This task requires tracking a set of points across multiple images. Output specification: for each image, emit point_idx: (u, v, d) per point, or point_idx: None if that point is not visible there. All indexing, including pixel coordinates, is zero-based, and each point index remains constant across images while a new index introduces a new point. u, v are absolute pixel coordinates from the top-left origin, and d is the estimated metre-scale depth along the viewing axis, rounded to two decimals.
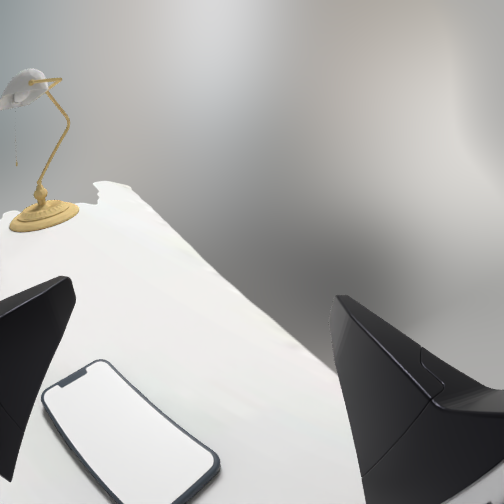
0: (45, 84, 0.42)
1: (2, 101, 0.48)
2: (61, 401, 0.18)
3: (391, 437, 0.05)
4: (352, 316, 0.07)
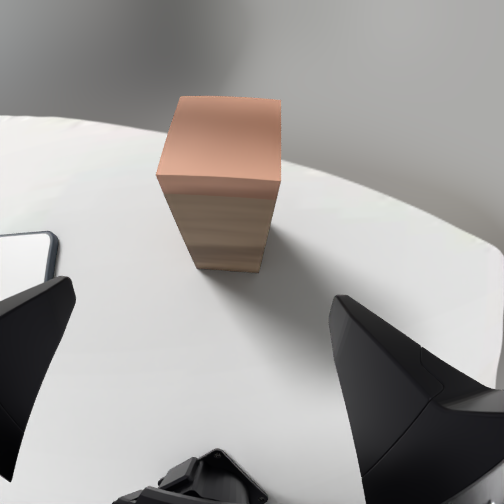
0: None
1: None
2: None
3: (391, 437, 0.05)
4: (352, 316, 0.07)
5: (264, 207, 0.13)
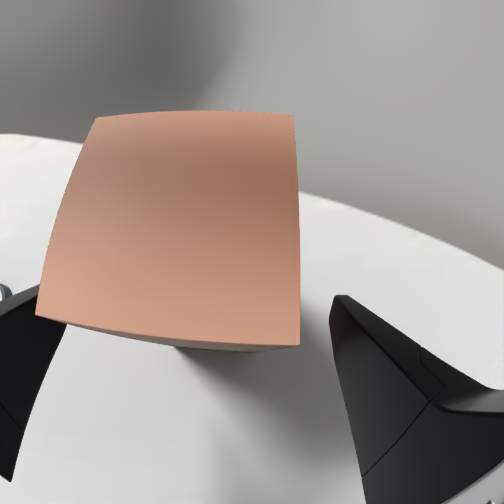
0: None
1: None
2: None
3: (391, 437, 0.05)
4: (352, 316, 0.07)
5: (261, 347, 0.07)
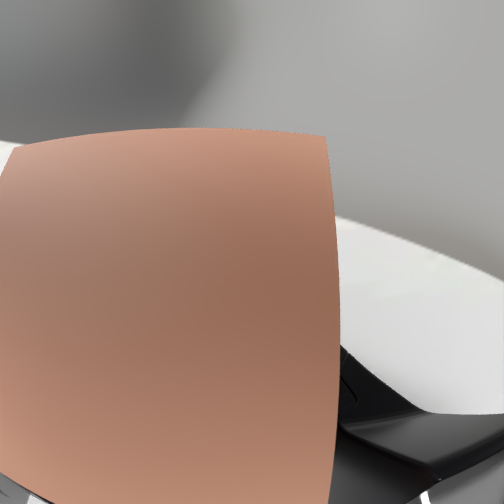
0: None
1: None
2: None
3: None
4: None
5: None
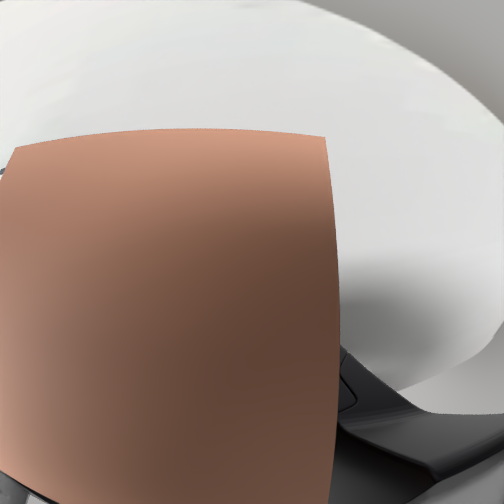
0: None
1: None
2: None
3: None
4: None
5: None
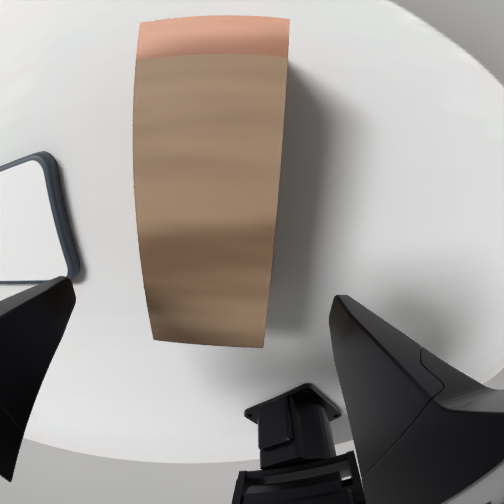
0: None
1: None
2: None
3: (391, 437, 0.05)
4: (352, 316, 0.07)
5: (272, 76, 0.08)
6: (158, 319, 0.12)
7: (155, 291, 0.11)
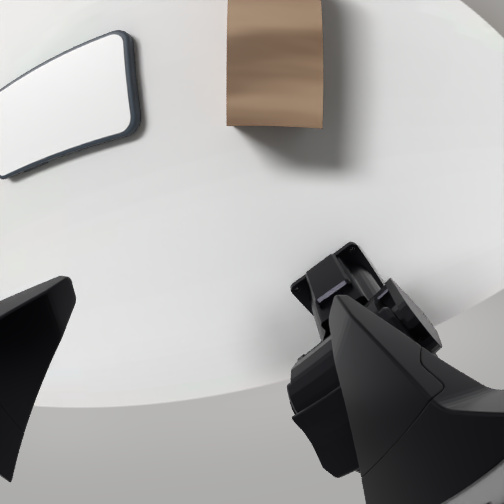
0: None
1: None
2: (7, 157, 0.17)
3: (391, 437, 0.05)
4: (352, 316, 0.07)
5: None
6: (234, 102, 0.13)
7: (235, 76, 0.13)
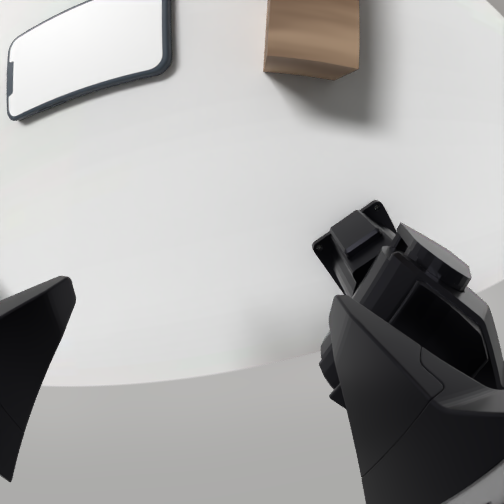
0: None
1: None
2: (23, 96, 0.15)
3: (391, 437, 0.05)
4: (352, 316, 0.07)
5: None
6: (276, 35, 0.12)
7: (278, 14, 0.11)
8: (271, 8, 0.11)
